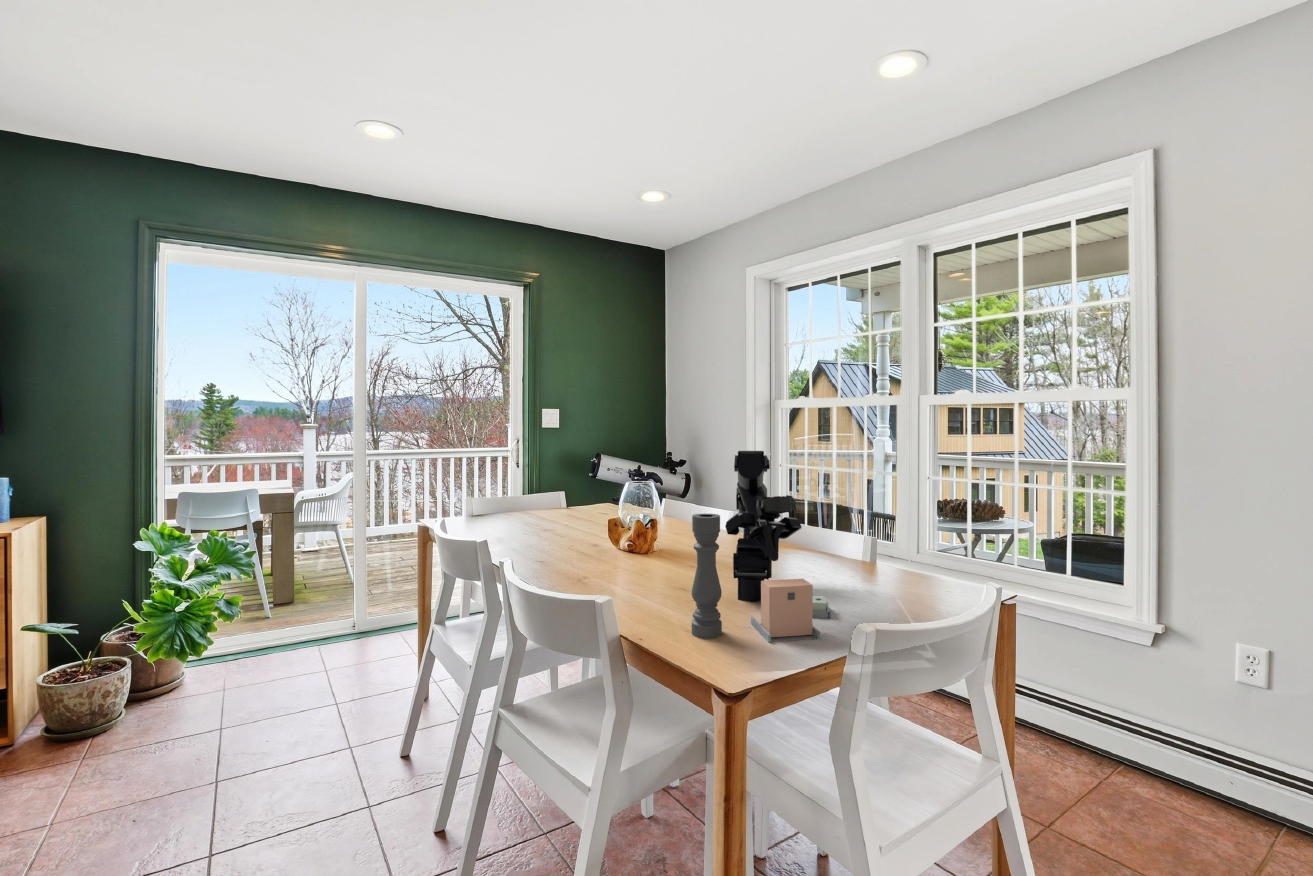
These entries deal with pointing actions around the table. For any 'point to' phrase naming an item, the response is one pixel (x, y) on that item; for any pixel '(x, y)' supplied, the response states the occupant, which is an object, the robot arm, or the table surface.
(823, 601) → the sage button
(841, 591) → the table surface
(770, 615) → the salmon pink box
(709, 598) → the candle holder
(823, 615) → the button bezel
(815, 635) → the grey tray
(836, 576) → the table surface
